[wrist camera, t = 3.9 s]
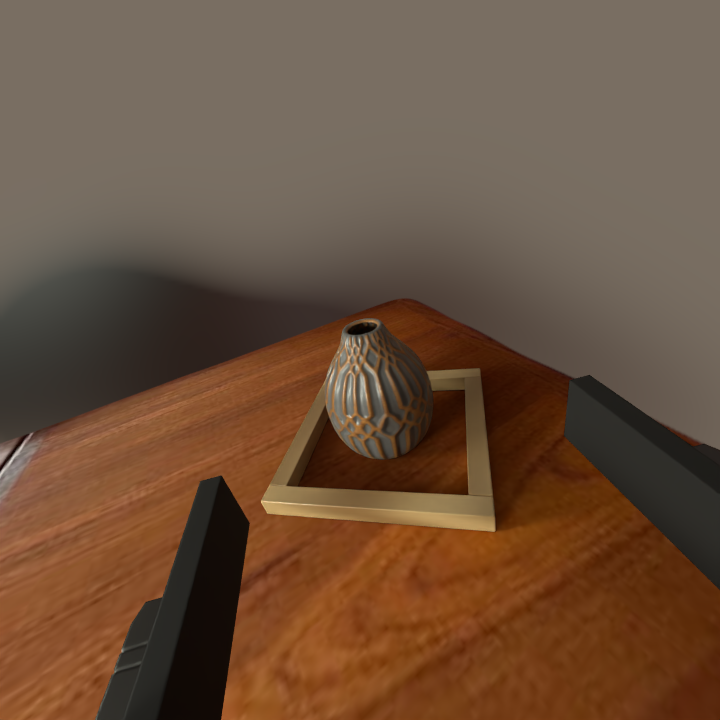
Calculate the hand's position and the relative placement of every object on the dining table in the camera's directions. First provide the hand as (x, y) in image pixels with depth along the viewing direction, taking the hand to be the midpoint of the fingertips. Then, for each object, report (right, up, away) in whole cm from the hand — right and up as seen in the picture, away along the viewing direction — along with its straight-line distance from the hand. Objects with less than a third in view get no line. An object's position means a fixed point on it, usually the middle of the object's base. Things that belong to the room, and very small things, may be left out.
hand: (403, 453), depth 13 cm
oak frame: (0, -2, +11) cm, 12 cm away
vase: (0, -2, +12) cm, 12 cm away
